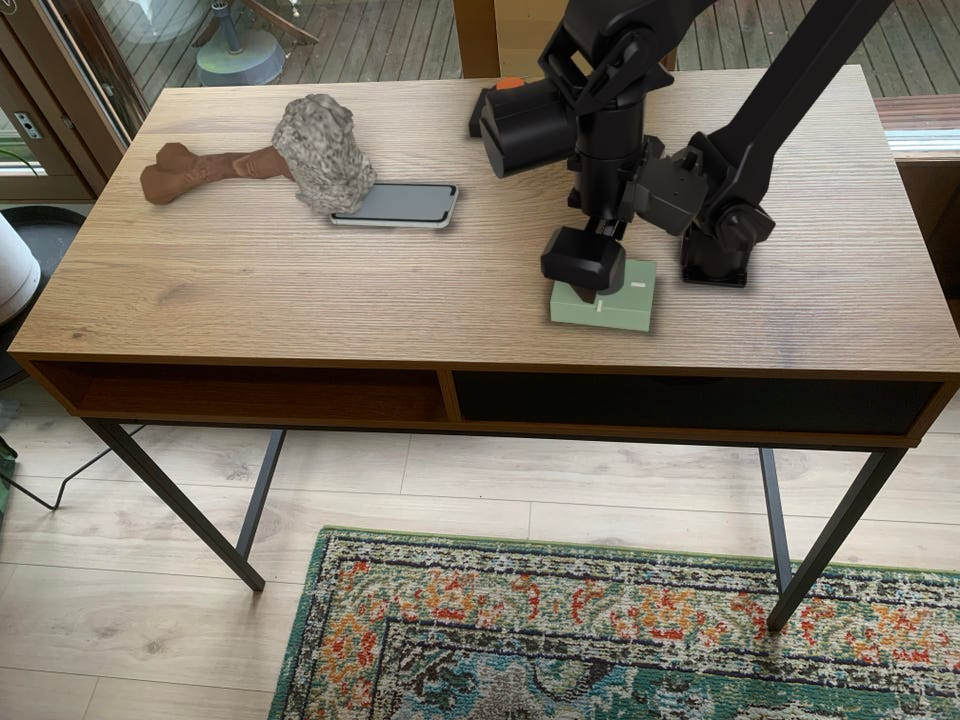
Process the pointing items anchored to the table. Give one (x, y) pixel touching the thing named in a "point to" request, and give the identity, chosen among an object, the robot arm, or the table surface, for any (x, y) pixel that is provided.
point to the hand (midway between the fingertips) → (603, 269)
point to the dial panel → (610, 301)
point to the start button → (509, 83)
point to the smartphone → (404, 206)
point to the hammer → (280, 160)
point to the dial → (617, 276)
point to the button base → (479, 112)
